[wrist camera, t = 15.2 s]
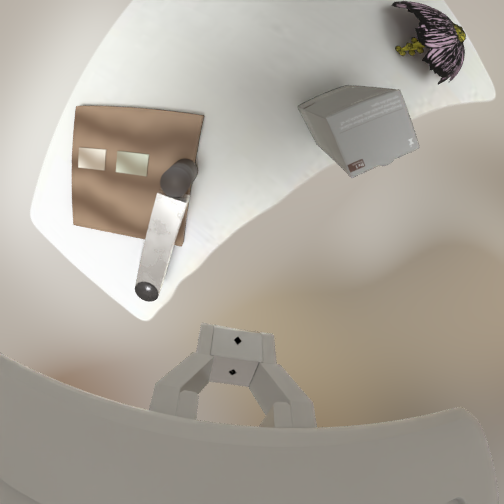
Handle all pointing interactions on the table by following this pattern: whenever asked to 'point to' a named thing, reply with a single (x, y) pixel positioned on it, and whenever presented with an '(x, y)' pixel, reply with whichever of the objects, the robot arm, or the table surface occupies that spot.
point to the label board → (130, 165)
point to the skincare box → (360, 126)
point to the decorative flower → (436, 40)
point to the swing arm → (159, 244)
